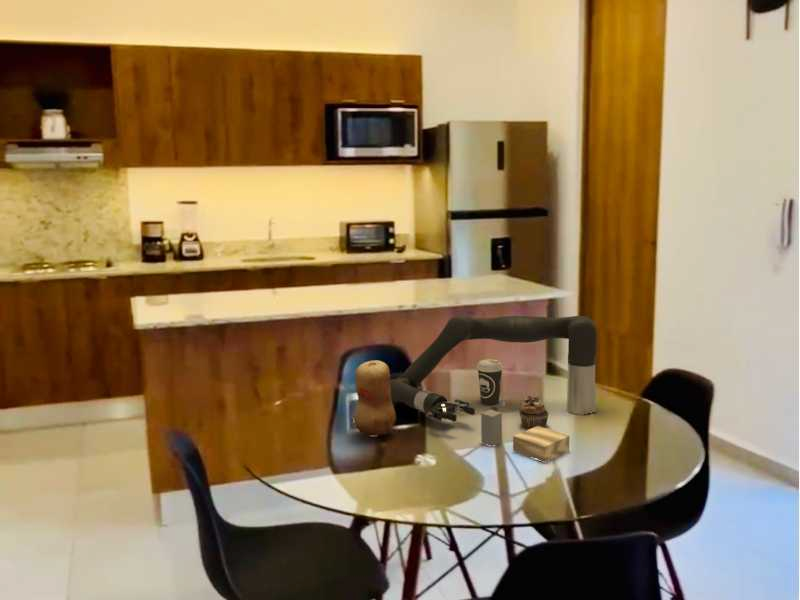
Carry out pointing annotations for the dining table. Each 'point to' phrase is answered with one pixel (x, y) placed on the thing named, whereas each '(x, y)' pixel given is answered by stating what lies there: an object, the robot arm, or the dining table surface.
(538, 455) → the birch plinth
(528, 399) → the cupcake
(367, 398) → the butternut squash
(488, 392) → the coffee cup
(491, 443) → the grey block
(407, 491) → the dining table surface
